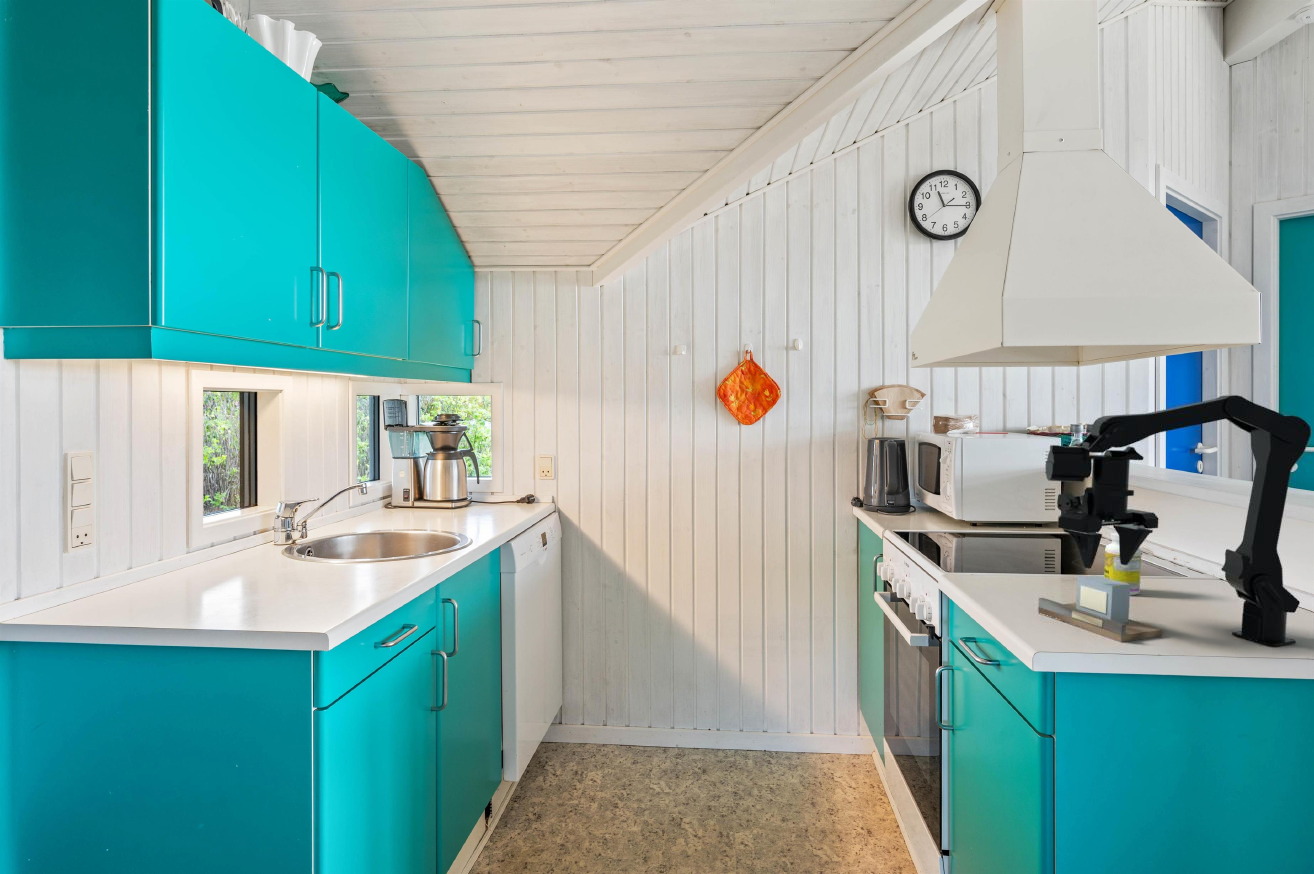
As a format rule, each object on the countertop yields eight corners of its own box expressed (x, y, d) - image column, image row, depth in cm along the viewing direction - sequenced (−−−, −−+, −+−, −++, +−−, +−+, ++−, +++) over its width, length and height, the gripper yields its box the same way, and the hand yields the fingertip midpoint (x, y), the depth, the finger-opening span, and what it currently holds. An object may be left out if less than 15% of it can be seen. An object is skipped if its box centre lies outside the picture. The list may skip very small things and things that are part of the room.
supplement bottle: (1105, 586, 157) (1108, 530, 156) (1140, 591, 153) (1143, 533, 152) (1101, 592, 152) (1104, 534, 151) (1138, 597, 147) (1140, 538, 147)
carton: (1093, 610, 134) (1095, 574, 133) (1128, 621, 127) (1130, 584, 127) (1075, 612, 132) (1076, 576, 132) (1109, 624, 126) (1111, 586, 125)
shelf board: (1076, 608, 139) (1076, 593, 139) (1161, 636, 123) (1162, 619, 123) (1037, 612, 136) (1038, 597, 136) (1120, 642, 120) (1121, 625, 120)
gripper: (1106, 477, 139) (1102, 554, 140) (1034, 479, 133) (1031, 560, 134) (1162, 483, 128) (1158, 566, 129) (1087, 486, 122) (1083, 573, 123)
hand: (1106, 566), depth 129 cm, fingers open, 9 cm apart
